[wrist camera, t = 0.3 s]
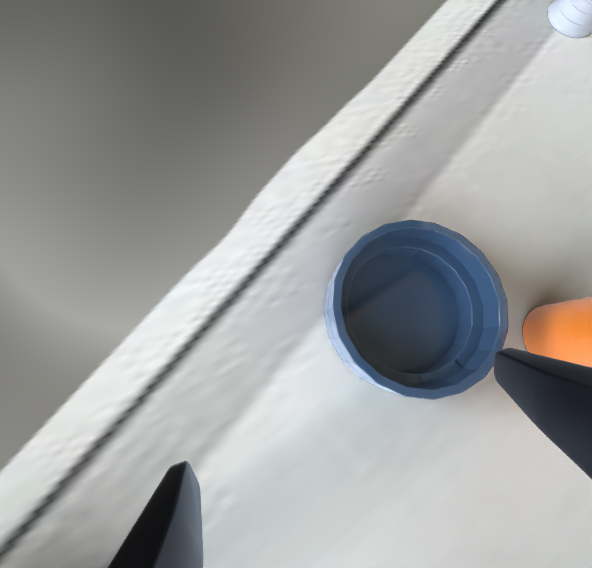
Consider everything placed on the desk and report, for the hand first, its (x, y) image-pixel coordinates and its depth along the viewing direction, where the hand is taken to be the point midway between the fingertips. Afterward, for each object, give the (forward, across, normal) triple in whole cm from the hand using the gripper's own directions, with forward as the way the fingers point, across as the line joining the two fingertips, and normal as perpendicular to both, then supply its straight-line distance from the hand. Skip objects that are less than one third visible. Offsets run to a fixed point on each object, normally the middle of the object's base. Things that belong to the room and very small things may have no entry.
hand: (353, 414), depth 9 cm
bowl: (+14, -8, +6) cm, 17 cm away
